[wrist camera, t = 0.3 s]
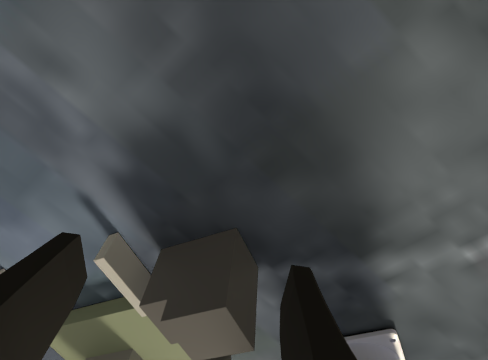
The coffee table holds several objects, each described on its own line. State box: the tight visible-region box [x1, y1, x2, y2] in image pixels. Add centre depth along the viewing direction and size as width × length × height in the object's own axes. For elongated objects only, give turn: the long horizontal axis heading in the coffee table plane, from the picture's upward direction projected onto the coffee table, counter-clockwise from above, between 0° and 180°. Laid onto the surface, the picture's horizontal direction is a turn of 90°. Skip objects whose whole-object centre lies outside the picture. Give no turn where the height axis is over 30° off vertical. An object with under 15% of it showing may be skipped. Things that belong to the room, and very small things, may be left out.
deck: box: [0, 233, 231, 360], centre depth 27 cm, size 16×16×6 cm
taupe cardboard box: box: [139, 228, 258, 360], centre depth 22 cm, size 4×6×6 cm, turn 113°
